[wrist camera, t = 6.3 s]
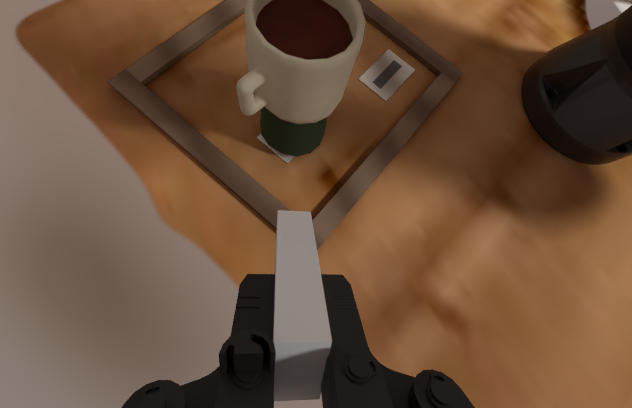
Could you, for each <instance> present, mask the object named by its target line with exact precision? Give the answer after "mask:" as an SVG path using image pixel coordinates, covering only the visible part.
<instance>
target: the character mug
mask: <svg viewBox="0 0 632 408" xmlns="http://www.w3.org/2000/svg"><path fill="white" fill-rule="evenodd" d="M244 16H245V25H246V53H247V59H248V69H249V71H248V73H247V74H246V75H244V76H243V77H242V78H241V79H240V80H239V81H238V82H237V86H236V89H237V95H238V100H239V106H240V109H241V112H242V113H243V114H244V115H246V116H251V115H253V114H255V113H256V112H257V111H259V110H260V109H261V108H262V110H261V135H262V136H263V138H264V139H265V141H266V142H267V143H268V145H269V146H271V147H272V148H274V149H275V150H277V151H278V152H280V153H282V154H287V155H292V156H300V155H304V154H308V153H311V152H312V151H313V150H314V149H315V148H316V147H317V146H319V145H320V142H321V140H322V137H323V134H324V131H325V125H326V117H328V116H330V115H331V113H332V112H333V111H334V109H335V108H336V107H337V105H338V104H339V102H340V101H341V99H342V97H343V94H344V92H345V89H346V86H347V83H348V81H349V78H350V75H351V73H352V70H353V67H354V65H355V62H356V59H357V57H358V54H359V51H360V48H361V45H362V42H363V37H364V31H365V25H366V21H365V18H364V14H363V11H362V8H361V4H360V3H359V2H358V0H247V1H246V5H245V15H244ZM254 91H255V93H256V94H255V95H254V96H253V92H254Z"/></svg>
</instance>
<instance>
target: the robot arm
mask: <svg viewBox="0 0 632 408" xmlns="http://www.w3.org/2000/svg"><path fill="white" fill-rule="evenodd" d="M522 97H523V103H524V106H525V109H526V112H527V114H528V116H529V118H530V120H531V122H532V124H533V125H534V127H535V128H536V130H537V131H538V132H539V133H540V135H541V136H542V137H543V138H544V139H545V140H546V141H547V142H548V143H549V144H550V145H551V146H553V147H554V148H555V149H557V150H558V151H559V152H561V153H563V154H564V155H566V156H568V157H570V158H572V159H574V160H577V161H580V162H583V163H588V164H606V163H610V162H613V161H616V160H619V159H621V158H624V157H627V156H630V155H632V6H631V7H629V8H628V9H627V10H625V11H624V12H623V13H622V14H620V15H619V16H618V17H616V18H615V19H613V20H611V21H609V22H607V23H605V24H603V25H601V26H599V27H597V28H595V29H593V30H590V31H588V32H586V33H584V34H582V35H580V36H578V37H576V38H574V39H572V40H570V41H568V42H566V43H563V44H561V45H559V46H557V47H555V48H553V49H552V50H550V51H549V52H547V53H546V54H545V55H544V56H543V57H541V58H540V59H539V60H538V61H537V62H535V63H534V64H533V65H532V66H531V67H530V68H529V69H528V71H527V72H526V74H525V77H524V80H523V84H522ZM219 363H220V366H219V367H218V368H217V369H216V370H215V371H213V372H212V373H211V374H209V375H207V376H205V377H203V378H201V379H199V380H196V381H193V382H190V383H187V384H184V385H182V386H179V384H177V383H174V382H172V381H171V380H158V381H155V382H152V383H149V384H146V385H145V386H143V387H142V388H140V389H139V390H137V391H136V392H135V393H133V395H132V396H131V397H130V398H129V399H128V400H127V401H126V402H125V404H124V405H123V406H122V408H274V401H288V400H309V399H319V398H320V394H321V393H322V402H323V408H475V407H474V406H473V405H472V403H471V402H470V401H469V399H468V398H467V397H466V395H465V394H464V392H463V391H462V390H461V388H460V387H459V386H458V385H457V384H456V383H455V382H454V381H453V380H452V379H451V378H450V377H448V376H446V375H445V374H443V373H442V372H438V371H435V370H423V371H422V372H420V373H419V374H417V376H416V378H415V377H412V376H409V375H405V374H402V373H399V372H396V371H393V370H391V369H388V368H386V367H385V366H383V365H382V364H380V363H379V362H378V360H377V359H376V358H375V357H374V356H373V355H372V353H371V352H370V350H369V347H368V345H367V341H366V338H365V334H364V331H363V327H362V323H361V320H360V316H359V313H358V309H357V306H356V302H355V299H354V295H353V291H352V288H351V285H350V283H349V282H348V281H347V280H346V278H345V277H344V276H343V275H326V274H321V271H320V265H319V259H318V253H317V247H316V241H315V235H314V229H313V223H312V217H311V212H305V211H284V210H278V214H277V231H276V249H275V270H274V275H272V274H247V276H246V277H245V278H244V280H243V281H242V282H241V284H240V287H239V293H238V299H237V304H236V310H235V315H234V321H233V326H232V332H231V336H230V337H229V339H228V340H227V341H226V342H225V343H224V344H223V346H222V348H221V350H220V353H219Z"/></svg>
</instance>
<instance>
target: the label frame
mask: <svg viewBox="0 0 632 408" xmlns="http://www.w3.org/2000/svg"><path fill="white" fill-rule="evenodd" d="M246 1H247V0H225V1H223V2H222V3H221V4H219V5H218V6H216V7H215V8H213V9H212V10H210V11H209V12H208V13H206V14H205V15H203V16H202V17H200V18H199V19H197V20H196V21H195V22H193V23H192V24H190V25H189V26H187V27H186V28H184V29H183V30H182V31H180V32H179V33H177V34H176V35H174V36H173V37H171V38H170V39H168V40H167V41H166V42H164V43H163V44H161V45H160V46H158V47H157V48H155V49H154V50H153V51H151V52H150V53H148V54H147V55H145V56H144V57H142V58H141V59H140V60H138V61H137V62H135V63H134V64H132V65H131V66H129V67H128V68H127V69H125V70H124V71H122V72H121V73H119V74H118V75H116V76H115V77H113V78H112V79H111V80H109V81H108V83H109V84H110V85H111V86H112V87H113V88H114V89H115V90H116V91H118V92H119V93H120V94H121V95H122V96H123V97H125V98H126V99H127V100H128V101H129V102H130V103H131V104H133V105H134V106H135V107H136V108H137V109H138V110H140V111H141V112H142V113H143V114H144V115H145V116H146V117H148V118H149V119H150V120H151V121H152V122H153V123H155V124H156V125H157V126H158V127H159V128H160V129H161V130H163V131H164V132H165V133H166V134H167V135H168V136H170V137H171V138H172V139H173V140H174V141H175V142H176V143H178V144H179V145H180V146H181V147H182V148H183V149H185V150H186V151H187V152H188V153H189V154H190V155H191V156H193V157H194V158H195V159H196V160H197V161H198V162H200V163H201V164H202V165H203V166H204V167H205V168H206V169H208V170H209V171H210V172H211V173H212V174H213V175H215V176H216V177H217V178H218V179H219V180H220V181H221V182H223V183H224V184H225V185H226V186H227V187H228V188H230V189H231V190H232V191H233V192H234V193H235V194H236V195H238V196H239V197H240V198H241V199H242V200H243V201H245V202H246V203H247V204H248V205H249V206H250V207H251V208H253V209H254V210H255V211H256V212H257V213H258V214H260V215H261V216H262V217H263V218H264V219H265V220H266V221H268V222H269V223H270V224H271V225H272V226H273V227H275V228H276V229H277V214H278V210H284V211H290V210H289V209H288V208H287V207H285V206H284V205H283V204H282V203H281V202H280V201H278V200H277V199H276V198H275V197H274V196H273V195H271V194H270V193H269V192H268V191H267V190H266V189H264V188H263V187H262V186H261V185H260V184H259V183H257V182H256V181H255V180H254V179H253V178H252V177H250V176H249V175H248V174H247V173H246V172H245V171H243V170H242V169H241V168H240V167H239V166H238V165H236V164H235V163H234V162H233V161H232V160H231V159H229V158H228V157H227V156H226V155H225V154H224V153H222V152H221V151H220V150H219V149H218V148H217V147H215V146H214V145H213V144H212V143H211V142H210V141H208V140H207V139H206V138H205V137H204V136H203V135H201V134H200V133H199V132H198V131H197V130H196V129H194V128H193V127H192V126H191V125H190V124H189V123H187V122H186V121H185V120H184V119H183V118H182V117H180V116H179V115H178V114H177V113H176V112H175V111H173V110H172V109H171V108H170V107H169V106H168V105H166V104H165V103H164V102H163V101H162V100H161V99H159V98H158V97H157V96H156V95H155V94H154V93H152V92H151V91H150V90H149V89H148V88H147V87H145V86H144V85H146V84H147V83H148V82H150V81H151V80H153V79H154V78H155V77H157V76H158V75H159V74H161V73H162V72H164V71H165V70H166V69H168V68H169V67H170V66H172V65H173V64H175V63H176V62H177V61H179V60H180V59H181V58H183V57H184V56H186V55H187V54H188V53H190V52H191V51H192V50H194V49H195V48H197V47H198V46H199V45H201V44H202V43H203V42H205V41H206V40H208V39H209V38H210V37H212V36H213V35H214V34H216V33H217V32H218V31H220V30H221V29H223V28H224V27H225V26H227V25H228V24H229V23H231V22H232V21H234V20H235V19H236V18H238V17H239V16H240V15H242V14H243V13H245V5H246ZM358 2H359V3H360V4H361V8H362V11H363V14H364V18H365V19H366V20H368V21H369V22H370V23H371V24H373V25H374V26H375V27H377V28H378V29H379V30H380V31H382V32H383V33H384V34H385V35H387V36H388V37H389V38H391V39H392V40H393V41H394V42H396V43H397V44H398V45H400V46H401V47H402V48H403V49H405V50H406V51H407V52H409V53H410V54H411V55H412V56H414V57H415V58H416V59H417V60H419V61H420V62H421V63H423V64H424V65H425V66H426V67H428V68H429V69H430V70H432V71H433V72H434V73H435V74H437V75H438V77H437V78H436V79H435V80H434V81H433V83H432V84H431V85H430V86H429V87H428V88H427V89H426V91H425V92H424V93H423V94H422V95H421V96H420V97H419V99H418V100H417V101H416V102H415V103H414V104H413V106H412V107H411V108H410V109H409V110H408V111H407V112H406V114H405V115H404V116H403V117H402V118H401V119H400V121H399V122H398V123H397V124H396V125H395V126H394V127H393V129H392V130H391V131H390V132H389V133H388V134H387V135H386V137H385V138H384V139H383V140H382V141H381V142H380V144H379V145H378V146H377V147H376V148H375V149H374V150H373V152H372V153H371V154H370V155H369V156H368V157H367V159H366V160H365V161H364V162H363V163H362V164H361V165H360V167H359V168H358V169H357V170H356V171H355V172H354V173H353V175H352V176H351V177H350V178H349V179H348V180H347V182H346V183H345V184H344V185H343V186H342V187H341V188H340V190H339V191H338V192H337V193H336V194H335V195H334V197H333V198H332V199H331V200H330V201H329V202H328V203H327V205H326V206H325V207H324V208H323V209H322V210H321V211H320V213H319V214H318V215H317V216H316V217H315V218H314V220H313V221H312V223H313V229H314V235H315V241H316V247H317V249H318V248H319V247H320V246H321V244H322V243H323V242H324V241H325V240H326V238H327V237H328V236H329V235H330V234H331V232H332V231H333V230H334V229H335V228H336V226H337V225H338V224H339V223H340V222H341V220H342V219H343V218H344V217H345V215H346V214H347V213H348V212H349V211H350V209H351V208H352V207H353V206H354V205H355V203H356V202H357V201H358V200H359V199H360V197H361V196H362V195H363V194H364V193H365V191H366V190H367V189H368V188H369V186H370V185H371V184H372V183H373V182H374V180H375V179H376V178H377V177H378V176H379V174H380V173H381V172H382V171H383V170H384V168H385V167H386V166H387V165H388V164H389V162H390V161H391V160H392V159H393V157H394V156H395V155H396V154H397V153H398V151H399V150H400V149H401V148H402V147H403V145H404V144H405V143H406V142H407V141H408V139H409V138H410V137H411V136H412V135H413V133H414V132H415V131H416V130H417V128H418V127H419V126H420V125H421V124H422V122H423V121H424V120H425V119H426V118H427V116H428V115H429V114H430V113H431V112H432V110H433V109H434V108H435V107H436V106H437V104H438V103H439V102H440V101H441V99H442V98H443V97H444V96H445V95H446V93H447V92H448V91H449V90H450V89H451V87H452V86H453V85H454V84H455V83H456V81H457V80H458V79H459V78H460V77H461V75H462V74H463V72H462V71H460V70H459V69H458V68H456V67H455V66H454V65H453V64H451V63H450V62H449V61H447V60H446V59H445V58H444V57H442V56H441V55H440V54H438V53H437V52H436V51H435V50H433V49H432V48H431V47H429V46H428V45H427V44H425V43H424V42H423V41H422V40H420V39H419V38H418V37H416V36H415V35H414V34H413V33H411V32H410V31H409V30H407V29H406V28H405V27H404V26H402V25H401V24H400V23H398V22H397V21H396V20H394V19H393V18H392V17H391V16H389V15H388V14H387V13H385V12H384V11H383V10H382V9H380V8H379V7H378V6H376V5H375V4H374V3H372V2H371V1H370V0H358ZM414 71H415V69H414V68H412V67H411V66H410V65H408V64H407V63H406V62H405V61H403V60H402V59H401V58H399V57H398V56H397V55H396V54H394V53H393V52H392V51H391V50H389V49H388V50H387V51H386V52H385V53H384V54H383V55H382V56H381V57H380V58H379V59H378V60H377V61H376V62H375V63H374V64H373V65H372V66H371V67H370V68H369V69H368V70H367V71H366V72H365V73H364V74H363V75H362V76H361V77H360V78H359V80H360V81H361V82H362V83H364V84H365V85H366V86H367V87H369V88H370V89H371V90H372V91H374V92H375V93H376V94H377V95H379V96H380V97H381V98H382V99H384V100H385V101H387V100H388V99H389V98H390V97H391V96H392V95H393V94H394V93H395V91H396V90H397V89H398V88H399V87H400V86H401V85H402V84H403V83H404V82H405V81H406V79H407V78H408V77H409V76H410V75H411V74H412V73H413V72H414ZM257 138H258V139H259V140H260V141H261V142H262V143H264V144H265V145H266V146H267V147H268V148H269V149H271V150H272V151H273V152H274V153H275V154H277V155H278V156H279V157H280V158H281V159H282V160H284V161H285V162H286V163H287V164H288V163H289V162H290V161H291V160H292V159H293V157H294V156H292V155H287V154H282V153H280V152H278V151H277V150H275V149H274V148H272V147H271V146H269V145H268V143H267V142H266V141H265V139H264V138H263V136H262V135H261V134H260V135H259V136H258V137H257Z"/></svg>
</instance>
